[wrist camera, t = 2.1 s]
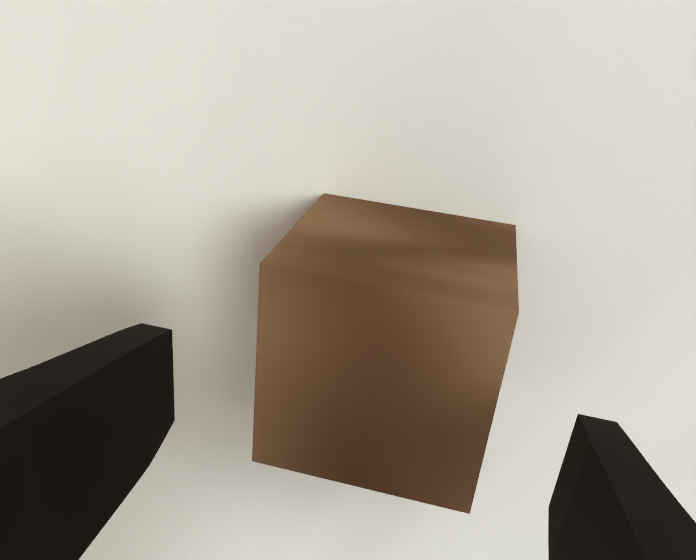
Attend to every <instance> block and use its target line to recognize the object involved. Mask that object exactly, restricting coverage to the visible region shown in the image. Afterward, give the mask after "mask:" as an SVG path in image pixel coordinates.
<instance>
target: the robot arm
mask: <svg viewBox="0 0 696 560" xmlns="http://www.w3.org/2000/svg"><path fill="white" fill-rule="evenodd" d="M174 420H175V417H174V382H173V347H172V330H171V329H166V328H161V327H157V326H152V325H147V324H142V323H141V324H138V325H135V326H132V327H129V328H126V329H123V330H121V331H118V332H116V333H113V334H111V335H108V336H106V337H103V338H101V339H98V340H96V341H94V342H91V343H89V344H86V345H84V346H82V347H79V348H77V349H74V350H72V351H70V352H67V353H65V354H62V355H60V356H57V357H55V358H53V359H50V360H48V361H45V362H43V363H41V364H38V365H36V366H33V367H31V368H28V369H25V370H23V371H20V372H17V373H14V374H12V375H9V376H6V377H4V378H1V379H0V560H79V558H80V557H81V556H82V554H83V553H84V552H85V550H86V549H87V548H88V546H89V545H90V544H91V542H92V541H93V540H94V539H95V537H96V536H97V535H98V533H99V532H100V531H101V529H102V528H103V527H104V525H105V524H106V523H107V521H108V520H109V519H110V517H111V516H112V515H113V514H114V512H115V511H116V510H117V508H118V507H119V506H120V504H121V503H122V502H123V500H124V499H125V498H126V496H127V495H128V494H129V492H130V491H131V490H132V488H133V487H134V486H135V484H136V483H137V482H138V480H139V479H140V478H141V476H142V475H143V473H144V472H145V471H146V469H147V468H148V467H149V465H150V463H151V462H152V460H153V458H154V456H155V455H156V453H157V451H158V450H159V448H160V446H161V444H162V442H163V441H164V439H165V437H166V435H167V433H168V431H169V429H170V428H171V426H172V424H173V422H174ZM548 540H549V560H696V523H695V521H694V520H693V519H692V518H691V517H690V515H689V514H688V513H687V512H686V511H685V509H684V508H683V507H682V506H681V504H680V503H679V502H678V501H677V499H676V498H675V497H674V496H673V494H672V493H671V492H670V491H669V489H668V488H667V487H666V486H665V484H664V483H663V482H662V480H661V479H660V478H659V477H658V475H657V474H656V473H655V471H654V470H653V469H652V467H651V466H650V465H649V463H648V462H647V461H646V460H645V458H644V457H643V456H642V454H641V453H640V452H639V450H638V449H637V448H636V446H635V445H634V444H633V442H632V441H631V440H630V438H629V437H628V436H627V434H626V433H625V432H624V431H623V429H622V428H621V427H620V426H619V424H618V423H617V422H614V421H609V420H604V419H599V418H595V417H590V416H585V415H580V414H578V416H577V419H576V422H575V425H574V428H573V432H572V435H571V438H570V441H569V444H568V447H567V451H566V454H565V457H564V460H563V463H562V466H561V470H560V473H559V476H558V479H557V482H556V485H555V489H554V492H553V495H552V498H551V501H550V504H549V535H548Z"/></svg>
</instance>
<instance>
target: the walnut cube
mask: <svg viewBox="0 0 696 560" xmlns="http://www.w3.org/2000/svg"><path fill="white" fill-rule="evenodd" d="M518 313H519V307H518V280H517V252H516V225H511V224H505V223H499V222H493V221H487V220H481V219H475V218H469V217H463V216H457V215H451V214H445V213H439V212H433V211H427V210H421V209H415V208H409V207H403V206H397V205H391V204H385V203H379V202H373V201H367V200H361V199H355V198H349V197H342V196H336V195H330V194H324V195H323V196H322V197H321V198H320V199H319V200H318V201H317V202H316V203H315V204H314V206H313V207H312V208H311V209H310V210H309V211H308V212H307V213H306V214H305V215H304V216H303V217H302V219H301V220H300V221H299V222H298V223H297V224H296V225H295V226H294V227H293V228H292V229H291V231H290V232H289V233H288V234H287V235H286V236H285V237H284V238H283V239H282V240H281V241H280V243H279V244H278V245H277V246H276V247H275V248H274V249H273V250H272V251H271V252H270V253H269V255H268V256H267V257H266V258H265V259H264V260H263V261H262V262H261V263H260V277H259V302H258V327H257V352H256V377H255V402H254V427H253V452H252V461H254V462H258V463H262V464H267V465H271V466H275V467H279V468H283V469H287V470H291V471H295V472H300V473H304V474H308V475H312V476H316V477H320V478H324V479H328V480H333V481H337V482H341V483H345V484H349V485H353V486H357V487H361V488H366V489H370V490H374V491H378V492H382V493H386V494H390V495H394V496H399V497H403V498H407V499H411V500H415V501H419V502H423V503H427V504H432V505H436V506H440V507H444V508H448V509H452V510H456V511H460V512H465V513H469V514H470V510H471V506H472V502H473V498H474V494H475V490H476V485H477V481H478V477H479V473H480V469H481V465H482V461H483V457H484V453H485V449H486V444H487V440H488V436H489V432H490V428H491V424H492V420H493V416H494V412H495V407H496V403H497V399H498V395H499V391H500V387H501V383H502V379H503V375H504V371H505V366H506V362H507V358H508V354H509V350H510V346H511V342H512V338H513V334H514V330H515V325H516V321H517V317H518Z"/></svg>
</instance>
